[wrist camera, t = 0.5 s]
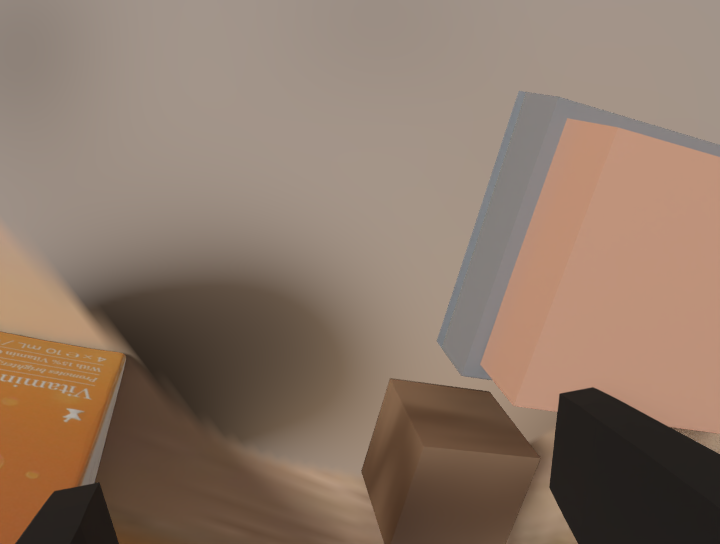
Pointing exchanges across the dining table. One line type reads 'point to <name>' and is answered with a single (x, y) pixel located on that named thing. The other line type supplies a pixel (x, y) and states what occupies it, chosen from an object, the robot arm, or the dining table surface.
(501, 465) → the walnut cube
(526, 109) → the slate slab
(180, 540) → the dining table surface
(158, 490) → the dining table surface
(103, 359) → the small box
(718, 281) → the terracotta tile
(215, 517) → the dining table surface
